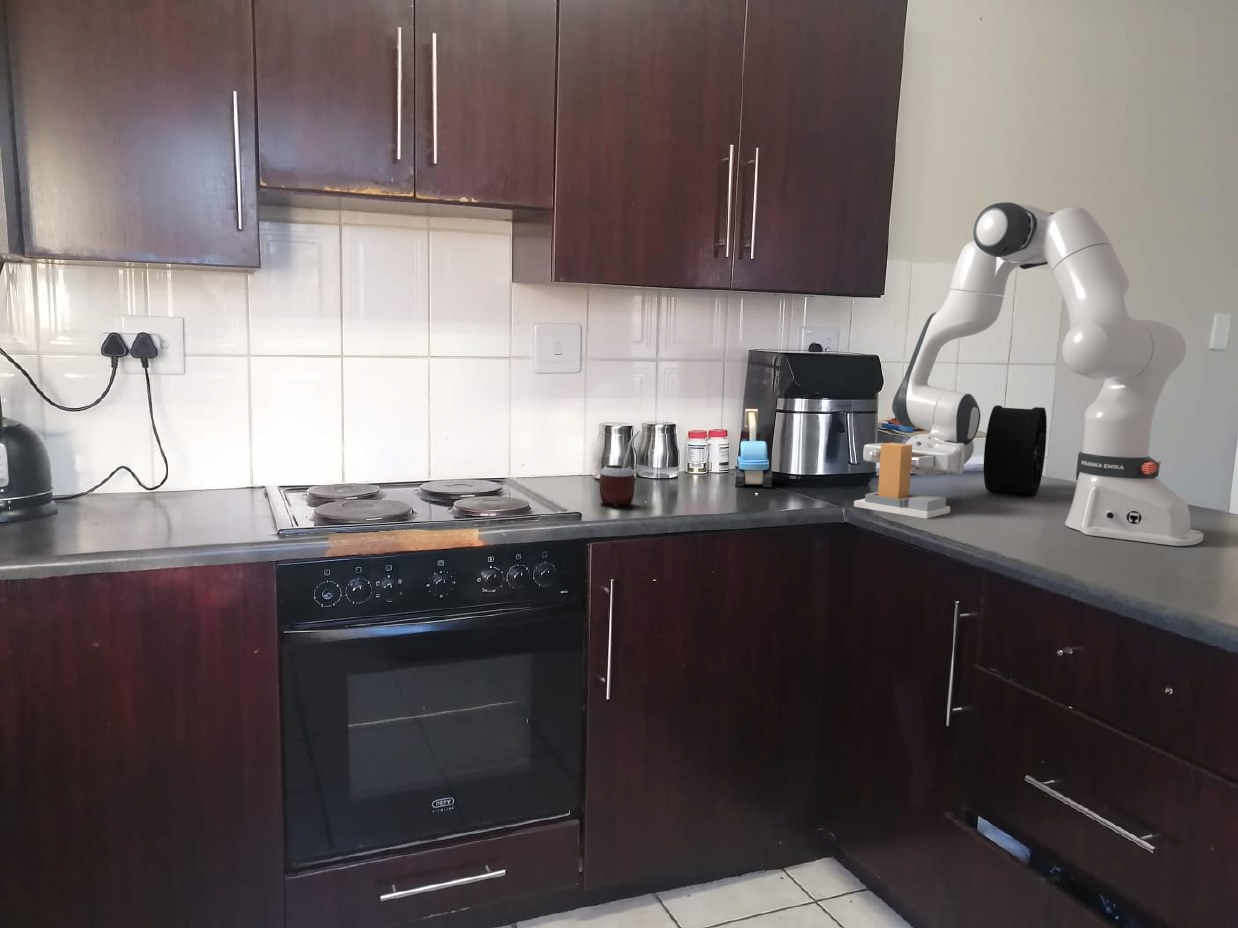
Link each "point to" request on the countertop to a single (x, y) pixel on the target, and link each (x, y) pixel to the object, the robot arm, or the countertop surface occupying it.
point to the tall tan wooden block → (895, 470)
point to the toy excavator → (753, 457)
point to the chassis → (906, 505)
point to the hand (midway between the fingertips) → (893, 459)
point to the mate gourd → (618, 483)
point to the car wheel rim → (1015, 449)
